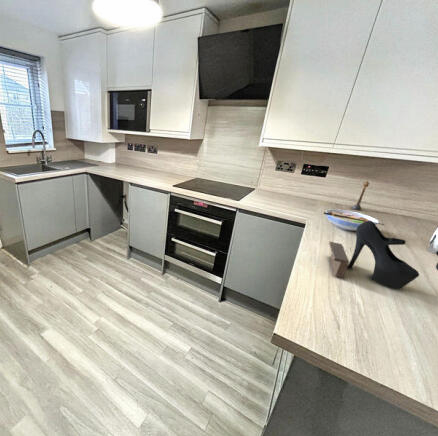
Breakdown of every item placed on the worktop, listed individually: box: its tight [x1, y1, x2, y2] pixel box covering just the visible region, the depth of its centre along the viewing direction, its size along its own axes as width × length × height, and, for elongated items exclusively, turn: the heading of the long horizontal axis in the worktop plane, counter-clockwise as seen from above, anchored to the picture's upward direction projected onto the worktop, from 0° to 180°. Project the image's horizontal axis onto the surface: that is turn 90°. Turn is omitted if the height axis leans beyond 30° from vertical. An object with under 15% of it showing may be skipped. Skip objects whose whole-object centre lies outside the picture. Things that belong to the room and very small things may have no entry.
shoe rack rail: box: [328, 241, 350, 279], centre depth 90 cm, size 4×16×7 cm, turn 149°
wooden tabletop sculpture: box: [351, 180, 370, 211], centre depth 162 cm, size 6×5×20 cm
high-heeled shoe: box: [347, 221, 420, 290], centre depth 82 cm, size 8×19×20 cm, turn 33°
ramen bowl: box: [323, 208, 386, 232], centre depth 129 cm, size 25×23×8 cm
